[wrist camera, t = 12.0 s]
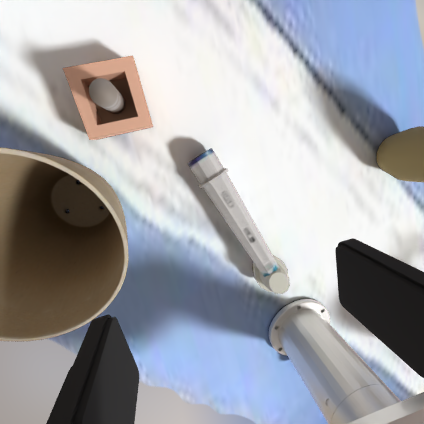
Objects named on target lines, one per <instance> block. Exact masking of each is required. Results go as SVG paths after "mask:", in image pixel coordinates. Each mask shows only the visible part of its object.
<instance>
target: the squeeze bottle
mask: <svg viewBox="0 0 424 424" xmlns="http://www.w3.org/2000/svg"><path fill="white" fill-rule="evenodd" d="M376 161H377V164H378V166H379V167H380V168H381V169H382V170H383V171H385V172H387V173H388V174H390V175H392V176H393V177H395V178H397V179H399V180H403V181H412V182H424V127H415V128H411V129H408V130H405V131H402V132H399V133H397V134H394V135H391V136H389V137H388V138H386V139H385V140H384V141H383V142H382V143H381V145H380V146H379V149H378V151H377V159H376Z"/></svg>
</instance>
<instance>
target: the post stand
mask: <svg viewBox="0 0 424 424" xmlns="http://www.w3.org/2000/svg"><path fill="white" fill-rule="evenodd" d="M89 95H90V97H91V99H92V100H93V102H94V103H95V105H96V108H97V111H98V114H99V117H100V120H101V123H102V124H106V123H110V122H115V121H120V120H124V119H129V118H134V117H138V114H137V111H136V107H135V104H134V100H133V97H132V94H131V90H130V87H129V84H128V80H127V78H126V79H120V80H115V81H108V80H106V79H102V78H99V79H95V80H94V81H92V83H91V84H90V85H89ZM146 129H147V128H146ZM137 131H138V130H137ZM133 132H134V131H133ZM128 133H129V132H128ZM124 134H125V133H124ZM119 135H120V134H119ZM115 136H116V135H115ZM110 137H111V136H110ZM106 138H107V137H106ZM101 139H102V138H101ZM97 140H98V139H97Z"/></svg>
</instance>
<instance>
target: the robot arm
mask: <svg viewBox="0 0 424 424" xmlns="http://www.w3.org/2000/svg"><path fill="white" fill-rule="evenodd" d="M336 263H337V277H338V291H339V300H340V303H341V304H342V306H343V307H344V308H345V309H346V310H347V311H348V312H349V313H351V314H352V315H353V316H354V317H355V318H356V319H357V320H358V321H359V322H361V323H362V324H363V325H364V326H365V327H366V328H367V329H368V330H370V331H371V332H372V333H373V334H374V335H375V336H376V337H377V338H378V339H380V340H381V341H382V342H383V343H384V344H385V345H386V346H387V347H389V348H390V349H391V350H392V351H393V352H394V353H395V354H396V355H397V356H399V357H400V358H401V359H402V360H403V361H404V362H405V363H406V364H407V365H409V366H410V367H411V368H412V369H413V370H414V371H415V372H416V373H418V374H419V375H420V376H421V377H423V378H424V272H422V271H420V270H418V269H416V268H414V267H412V266H410V265H408V264H406V263H404V262H401V261H399V260H397V259H395V258H393V257H391V256H389V255H387V254H385V253H383V252H381V251H379V250H377V249H375V248H373V247H371V246H368V245H366V244H364V243H362V242H360V241H358V240H356V239H349V240H346V241H342V242H340V243H339V244H338V247H336ZM269 340H270V342H271V344H272V346H273V348H274V349H275V350H276V351H277V352H278V353H280V354H283V355H287V356H288V357H289V359H290V360H291V362H292V364H293V365H294V367H295V369H296V370H297V372H298V374H299V375H300V377H301V379H302V380H303V382H304V384H305V385H306V387H307V389H308V390H309V392H310V394H311V395H312V397H313V399H314V400H315V402H316V404H317V406H318V407H319V409H320V411H321V412H322V414H323V416H324V417H325V419H326V421H327V422H328V424H424V392H423V393H421V394H418V395H416V396H413V397H411V398H408V399H406V400H403V401H400V400H399V399H398V397H397V396H396V395H395V394H394V393H393V392H392V391H391V390H390V389H389V388H388V387H387V386H386V385H385V383H384V382H383V381H382V380H381V379H380V378H379V377H378V376H377V375H376V374H375V373H374V372H373V370H372V369H371V368H370V367H369V366H368V365H367V364H366V363H365V362H364V361H363V360H362V359H361V357H360V356H359V355H358V354H357V353H356V352H355V351H354V350H353V349H352V348H351V347H350V346H349V345H348V343H347V342H346V341H345V340H344V339H343V338H342V337H341V336H340V335H339V334H338V333H337V332H336V331H335V329H334V328H333V327H332V326H331V325H330V315H329V312H328V310H327V309H326V308H325V307H324V306H323V305H322V304H321V303H320V302H318V301H316V300H312V299H302V300H298V301H294V302H292V303H290V304H288V305H287V306H285V307H284V308H282V309H281V310H280V311H279V312H278V313H277V315H276V316H275V317H274V319H273V320H272V322H271V325H270V328H269ZM138 384H139V371H138V368H137V365H136V363H135V360H134V358H133V356H132V353H131V351H130V349H129V346H128V344H127V342H126V339H125V337H124V335H123V332H122V330H121V328H120V325H119V323H118V321H117V319H116V317H111V316H110V315H106V316H102V317H99V318H96V319H93V320H92V322H91V324H90V326H89V328H88V331H87V333H86V336H85V338H84V340H83V343H82V345H81V348H80V350H79V352H78V355H77V357H76V359H75V362H74V364H73V366H72V367H71V368H70V370H69V372H68V374H67V377H66V379H65V382H64V384H63V386H62V388H61V391H60V393H59V395H58V398H57V400H56V402H55V405H54V407H53V409H52V412H51V414H50V417H49V419H48V421H47V423H46V424H134V421H135V411H136V402H137V393H138Z"/></svg>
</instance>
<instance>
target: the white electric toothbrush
mask: <svg viewBox="0 0 424 424" xmlns="http://www.w3.org/2000/svg"><path fill="white" fill-rule="evenodd" d="M187 164H188V165H189V167H190V169H191V170H192V172H193V173H194V175H195V176H196V178H197V179H198V181H199V183H200V185H198V186H199V187H200V188H203V189H204V190H205V192H206V193H207V195H208V196H209V197H210V199H211V200H212V202H213V203H214V205H215V206H216V208H217V209H218V211H219V212H220V214H221V215H222V217H223V218H224V219H225V221H226V222H227V224H228V225H229V227H230V228H231V230H232V231H233V233H234V234H235V236H236V237H237V239H238V240H239V241H240V243H241V244H242V246H243V247H244V249H245V250H246V252H247V253H248V255H249V256H250V258H251V259H252V260H253V264H252V265H253V273H254V278H255V280H256V281H257V283H258V284H259V286H260V287H261V288H263V289H265V290H266V291H268V292H274V293H276V294H283V293H285V292H286V291H287V290H288V288H289V286H290V283H289V277H288V269H287V268H286V266H285V264H284V263H283V261H282V260H280V259H279V258H277V257H275V256H273V255H272V253H271V252H270V250H269V248H268V246H267V244H266V243H265V241H264V239H263V237H262V236H261V234H260V232H259V230H258V228H257V227H256V225H255V223H254V221H253V219H252V218H251V216H250V214H249V212H248V210H247V209H246V207H245V205H244V203H243V201H242V200H241V198H240V196H239V194H238V192H237V191H236V189H235V187H234V185H233V183H232V182H231V180H230V178H229V176H228V174H227V173H226V172H228V169H224V168H223V166H222V164H221V163H220V161H219V159H218V158H217V156H216V154H215V153H214V151H213V149H212V148H211V149H209V150H207V151H206V152H204V153H203V154H201V155H200V156H198V157H197V158H195V159H194V160H192V161H191V162H189V163H187Z"/></svg>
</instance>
